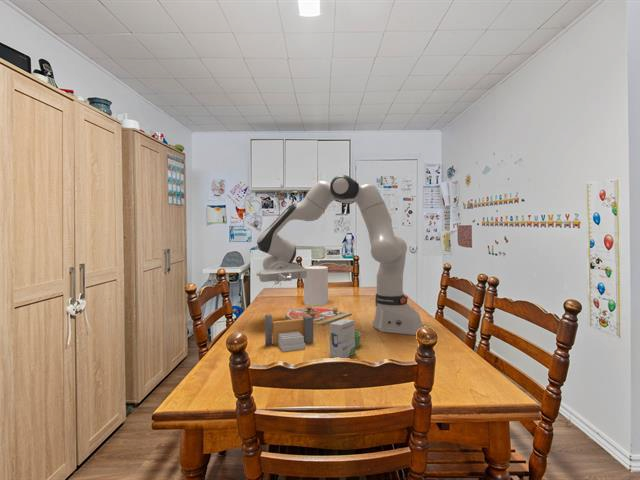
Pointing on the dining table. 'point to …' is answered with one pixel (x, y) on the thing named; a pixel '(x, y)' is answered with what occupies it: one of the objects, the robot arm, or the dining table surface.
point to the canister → (316, 285)
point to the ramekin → (357, 338)
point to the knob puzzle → (317, 314)
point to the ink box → (342, 338)
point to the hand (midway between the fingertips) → (287, 279)
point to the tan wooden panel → (286, 328)
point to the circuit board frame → (290, 335)
